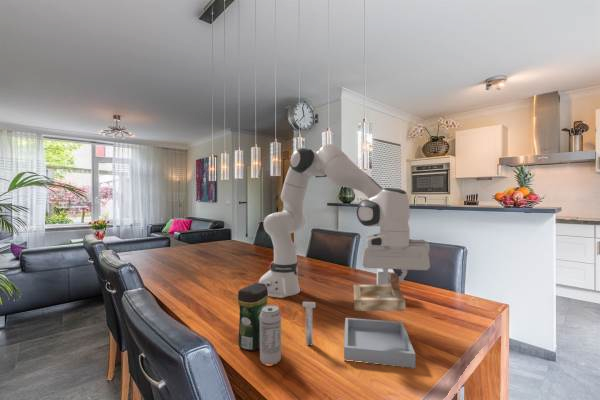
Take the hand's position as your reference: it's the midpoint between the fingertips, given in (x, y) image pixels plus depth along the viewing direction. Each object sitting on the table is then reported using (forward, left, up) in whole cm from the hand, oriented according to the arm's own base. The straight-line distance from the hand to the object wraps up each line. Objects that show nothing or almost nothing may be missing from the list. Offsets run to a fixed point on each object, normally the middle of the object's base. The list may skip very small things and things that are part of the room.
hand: (394, 282), depth 87 cm
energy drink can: (-36, -16, -19) cm, 44 cm away
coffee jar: (-44, -8, -19) cm, 49 cm away
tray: (-6, -3, -19) cm, 20 cm away
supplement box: (+2, +40, -19) cm, 44 cm away
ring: (-6, -4, -5) cm, 8 cm away
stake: (-27, -6, -19) cm, 33 cm away
